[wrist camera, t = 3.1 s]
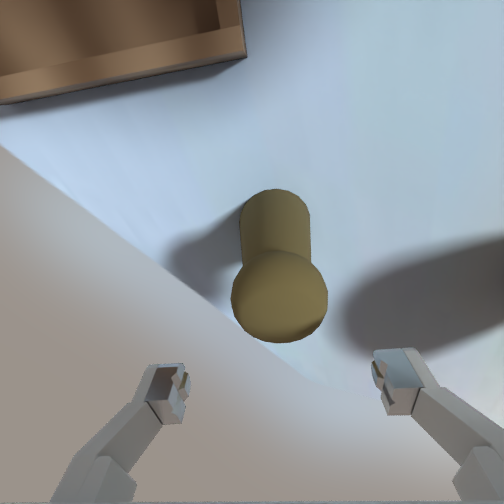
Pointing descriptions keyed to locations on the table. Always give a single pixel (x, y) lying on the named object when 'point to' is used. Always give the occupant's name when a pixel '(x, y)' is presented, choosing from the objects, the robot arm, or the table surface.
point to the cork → (277, 270)
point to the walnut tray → (109, 42)
